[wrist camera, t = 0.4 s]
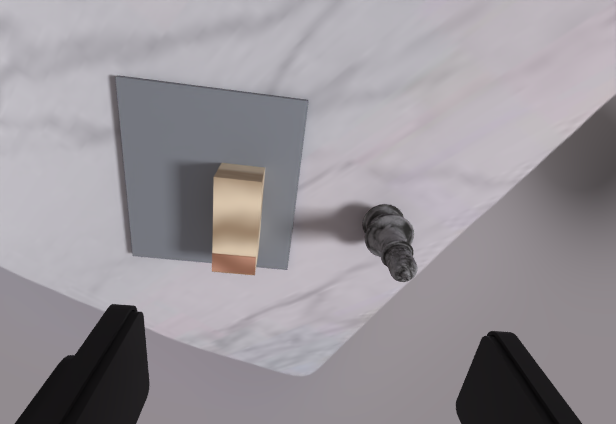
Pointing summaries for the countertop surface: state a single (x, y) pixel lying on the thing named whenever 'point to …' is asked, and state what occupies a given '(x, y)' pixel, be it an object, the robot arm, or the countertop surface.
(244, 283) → the countertop surface
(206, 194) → the slate mat
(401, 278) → the grey chess piece
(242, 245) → the beige brown block
